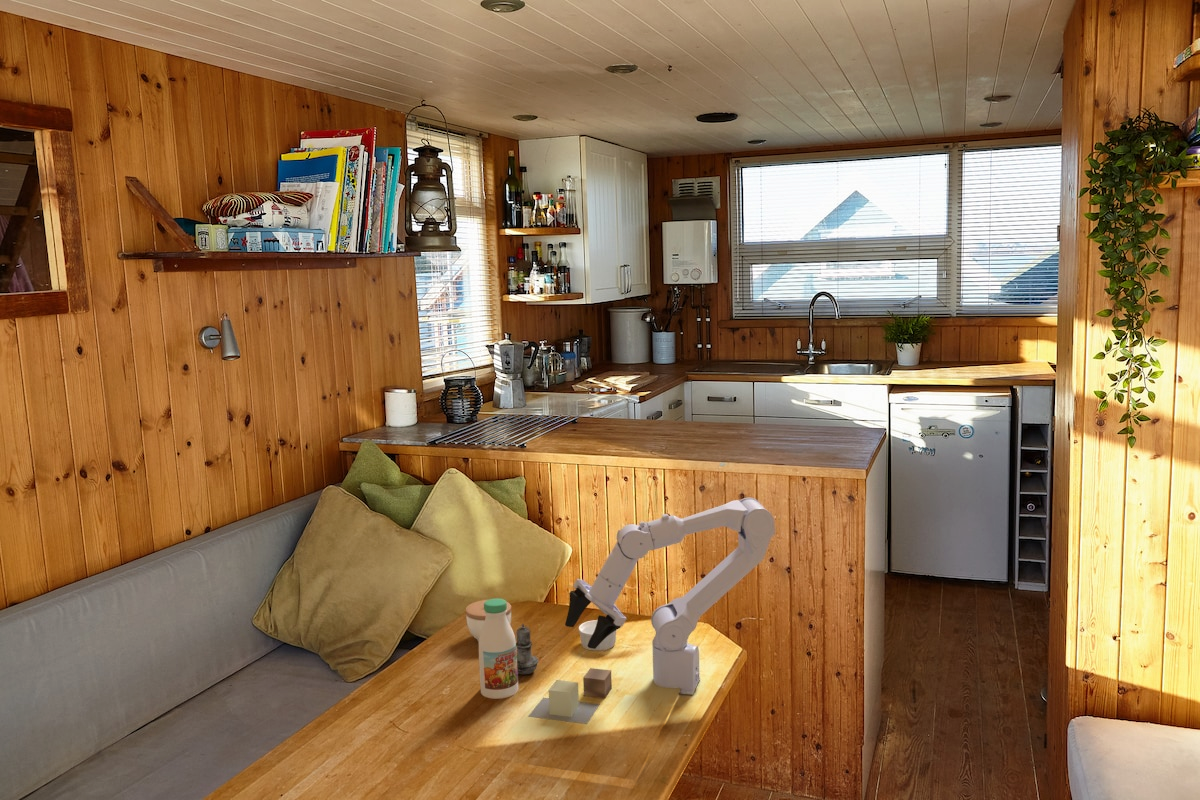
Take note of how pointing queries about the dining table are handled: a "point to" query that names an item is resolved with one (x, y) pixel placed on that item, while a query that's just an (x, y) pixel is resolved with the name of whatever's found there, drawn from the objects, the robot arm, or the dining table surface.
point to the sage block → (563, 698)
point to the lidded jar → (480, 617)
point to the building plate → (579, 716)
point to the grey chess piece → (525, 652)
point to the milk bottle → (497, 653)
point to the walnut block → (597, 683)
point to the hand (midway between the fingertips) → (579, 636)
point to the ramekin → (587, 632)
